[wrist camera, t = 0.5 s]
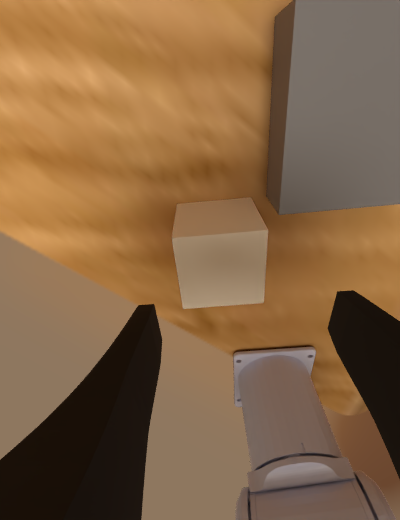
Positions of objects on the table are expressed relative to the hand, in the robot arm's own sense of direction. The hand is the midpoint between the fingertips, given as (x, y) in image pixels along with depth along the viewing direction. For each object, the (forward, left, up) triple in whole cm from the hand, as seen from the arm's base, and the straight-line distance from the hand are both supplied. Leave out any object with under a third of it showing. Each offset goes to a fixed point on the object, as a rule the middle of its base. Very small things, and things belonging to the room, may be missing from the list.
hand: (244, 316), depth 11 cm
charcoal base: (+6, -7, -10) cm, 14 cm away
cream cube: (-1, +1, -10) cm, 10 cm away
